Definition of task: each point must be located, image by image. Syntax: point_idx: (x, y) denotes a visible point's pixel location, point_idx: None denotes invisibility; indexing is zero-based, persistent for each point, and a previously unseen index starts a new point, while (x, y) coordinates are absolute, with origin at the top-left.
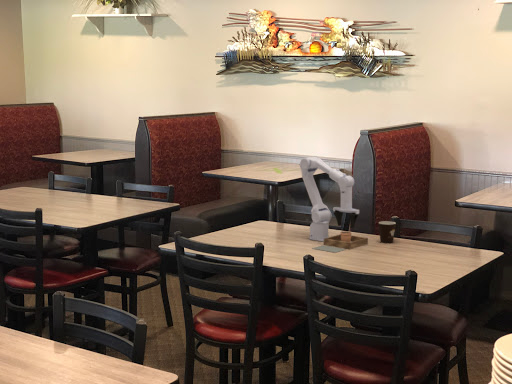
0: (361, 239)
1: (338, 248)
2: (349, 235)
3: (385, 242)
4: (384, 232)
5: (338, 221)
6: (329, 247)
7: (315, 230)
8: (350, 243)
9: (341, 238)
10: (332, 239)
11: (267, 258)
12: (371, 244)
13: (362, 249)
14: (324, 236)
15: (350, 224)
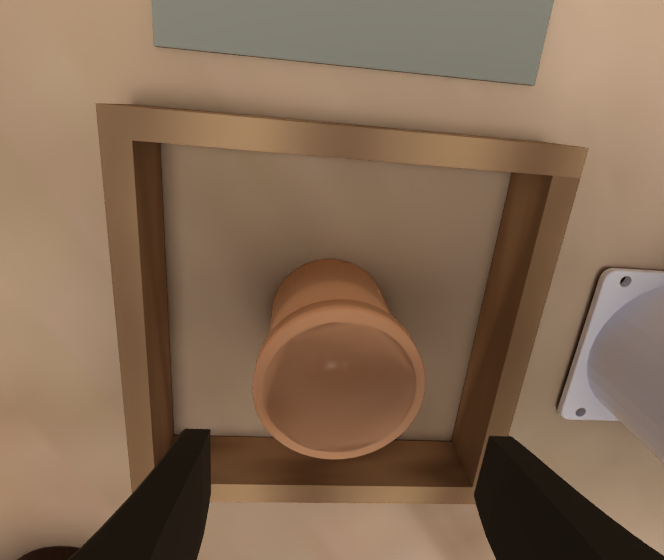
0: (135, 400)
1: (262, 22)
2: (259, 352)
3: (35, 556)
4: None
5: (545, 497)
6: (397, 3)
7: None
8: (99, 114)
9: (369, 295)
10: (503, 299)
11: None
12: (107, 448)
13: (5, 191)
14: (637, 336)
15: (189, 470)
